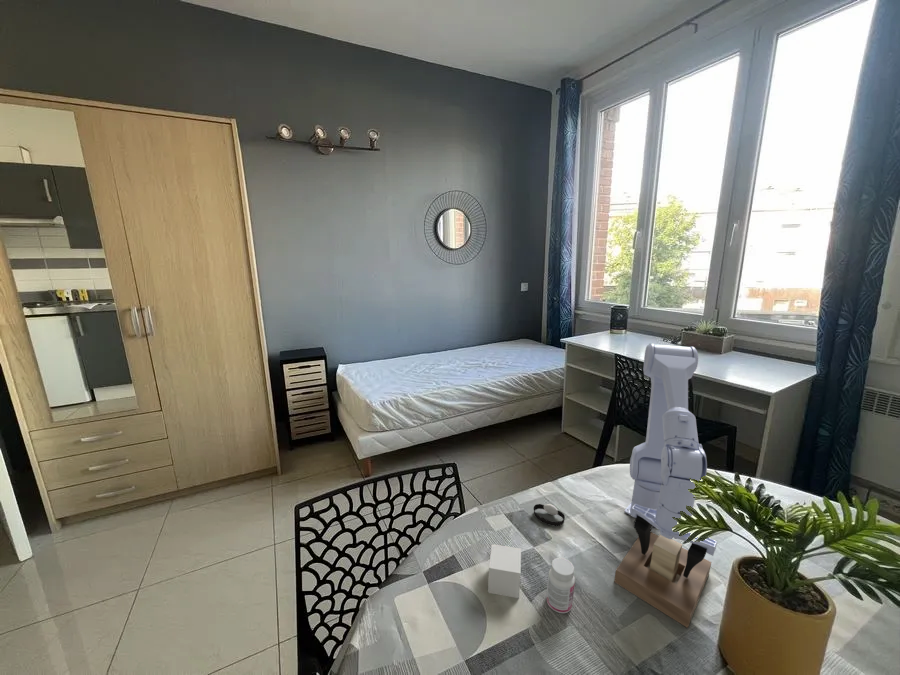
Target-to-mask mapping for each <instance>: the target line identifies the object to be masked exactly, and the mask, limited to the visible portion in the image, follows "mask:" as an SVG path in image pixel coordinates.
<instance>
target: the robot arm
mask: <svg viewBox="0 0 900 675" xmlns="http://www.w3.org/2000/svg"><path fill="white" fill-rule="evenodd" d="M698 365H699V352H698V350H697V349H696V347H694V346H681V345H669V344H659V343H658V344H657V343H653V342H652V343H651V342H650V343H648V344H647V345H646V347H645V350H644V359H643V369H642V371H643V375H644V376H646V377H648V378H650V382H651V383H650V385H651V386H650V387H651V389H650V396H649V397H650V398H649V406H648V418H647V428H646V435H645V436H646V437H645V442H642V443H640V444H638V445H636V446H634V447H633V448H632V453H631V456H630V459H629V476H630V477H631V479H632V480H634V482H633V489H632V496H631V501H630V503H629V504H628V506H626V508H625V509H624V513H625V514H628V515H629V516H631V517H633V518H635V520H634V521H633V528H634V529H635V532H636V534H637V536H638V537H639V540H640V544H641V553H642V554H644V555H645V554H646V552H647V551H648V548H649V543H650V534H651V532H652V529H653V527H654V528H655V529H657V530H658V531H659V535H662V536H664V537H666V538H668V539H672V540H673V538H674V539H677V540H681V541H684V542H687V541H686V540H687V539H688V537H689V536H690V534H691V533H690V532H689V533H687V534H685V535H683V536H681V537H680V536H679V532H678V531H677V532H673V531H672V527H674V526H675V525H677V521H676V520H674V519H673V518H672V517H675V518H681V515H680V511H683V512H685V513H686V514H687V515H689V516H693V513H692V514H691V513H690V512H689V511H688V510H687V509H686V505H687V506H691V507H692V508H693V509H694V507H695V500H696V496H695V495H693V494H692V493H690V492H689V491H688V489H694V488H695V484H694V483H693V482H691V481H690V479H689V478H691V479H695V480H697V481H698V482H700V480H701V477H703V476H707V472H708V470H707V469H708V461H707V454H706V452H705V450H704V449H703V445H702V443H699V437H698V436H699V435H698V428H697V427H698V426H697V419H696V416H695V414H694V413H692V411H690V410H689V380H690V379H692V378H693V376H694V373H695V372H696V371H697V369H698ZM694 496H695V498H693V497H694ZM638 537H637V538H638ZM697 539H698V537H697V538H695V541H696V540H697ZM689 543H691V544H690V545H689V548H688V549H687V550H688V553H687V563H686V567H685V570H684V574H683V576H684V577H686V578H688V576H689V574H690V571H691V570H692V568H693V567H694V566H695V565H696V564H698V563H699V562H701V561H702V560H703V559H705V556H706V555H707V554H708V555H710V556H714V554H715V552H716V549H717V545H718V541H717V540H715V539H713V538H711V537H709V538H707V539H705V540H704V541H700V542H693V541H690V542H689Z"/></svg>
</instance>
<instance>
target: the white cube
mask: <svg viewBox="0 0 900 675" xmlns="http://www.w3.org/2000/svg"><path fill="white" fill-rule="evenodd" d="M521 564H522V548H519V547H513V546H505V545H500V544H494V543H493V544H492V543H491V549H490V557H489V565H488V579H487V580H488V581H487V582H488V583H487V584H488V586H487V593H489V594H494V595H499V596H504V597H510V598H514V599H520V587H521V576H522V575H521V574H522V573H521V569H522V566H521Z"/></svg>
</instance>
